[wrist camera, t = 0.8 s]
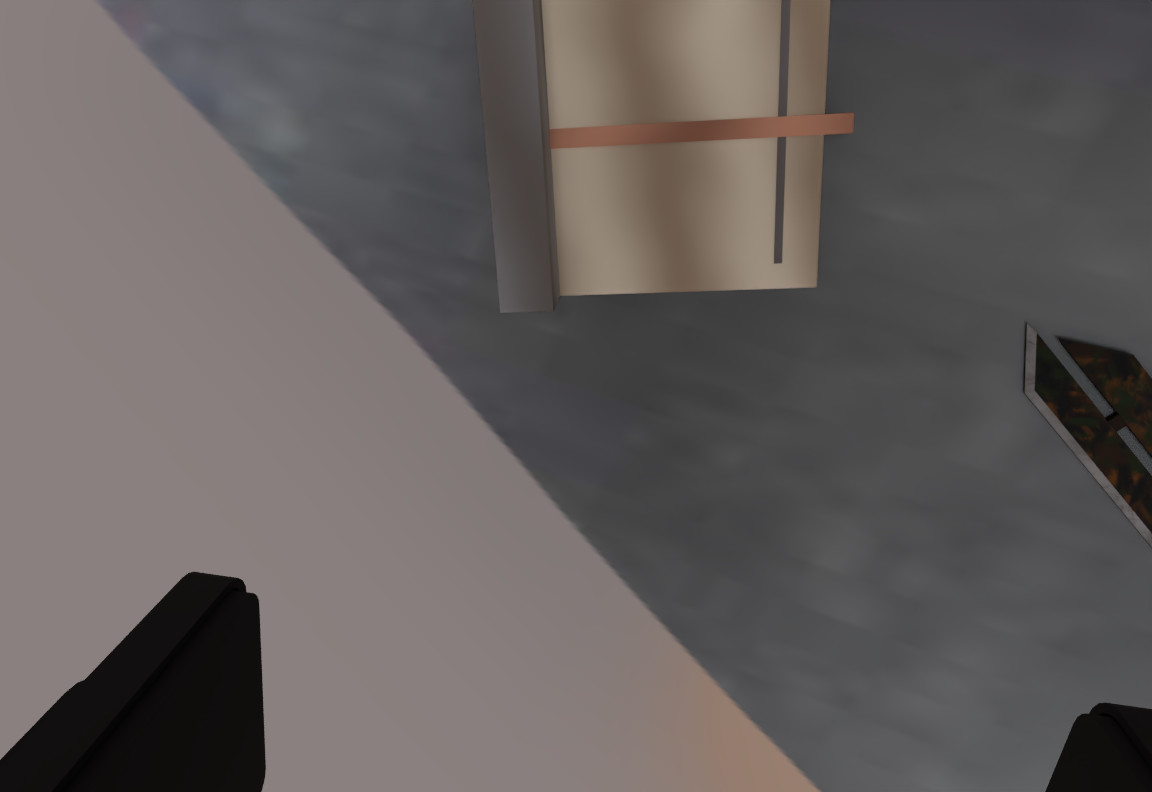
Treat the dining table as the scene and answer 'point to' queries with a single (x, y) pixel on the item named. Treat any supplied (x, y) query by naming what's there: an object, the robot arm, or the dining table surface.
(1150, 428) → the knife
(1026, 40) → the dining table surface
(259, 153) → the dining table surface
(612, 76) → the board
